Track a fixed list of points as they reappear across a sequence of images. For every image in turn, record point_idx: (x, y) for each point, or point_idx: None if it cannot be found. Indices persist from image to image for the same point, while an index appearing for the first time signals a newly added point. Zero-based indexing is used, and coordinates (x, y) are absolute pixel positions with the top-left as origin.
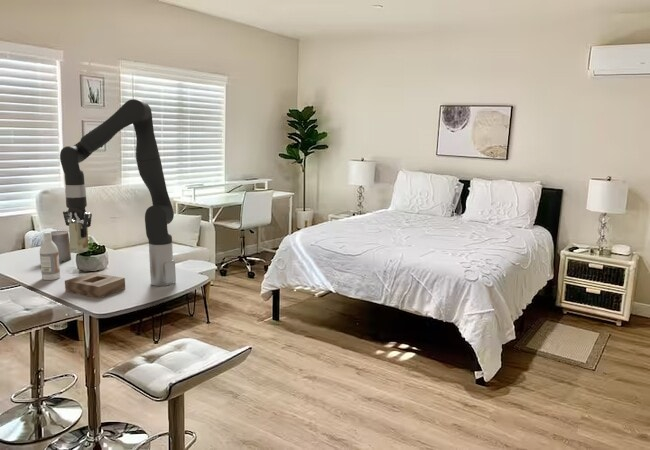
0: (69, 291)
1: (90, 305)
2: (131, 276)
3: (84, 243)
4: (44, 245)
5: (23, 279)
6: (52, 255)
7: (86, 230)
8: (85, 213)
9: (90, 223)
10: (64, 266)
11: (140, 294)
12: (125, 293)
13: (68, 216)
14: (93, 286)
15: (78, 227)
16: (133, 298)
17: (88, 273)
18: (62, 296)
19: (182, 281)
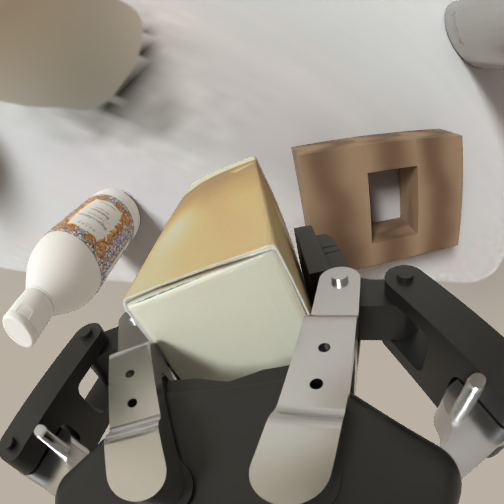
0: None
1: (452, 269)
2: (331, 8)
3: (277, 209)
4: (67, 312)
5: None
6: (105, 265)
7: (346, 263)
8: (472, 460)
9: (441, 291)
10: (10, 128)
11: (496, 148)
12: (466, 161)
13: (58, 419)
14: (439, 248)
15: None
16: (500, 180)
17: (302, 172)
18: None
19: None
